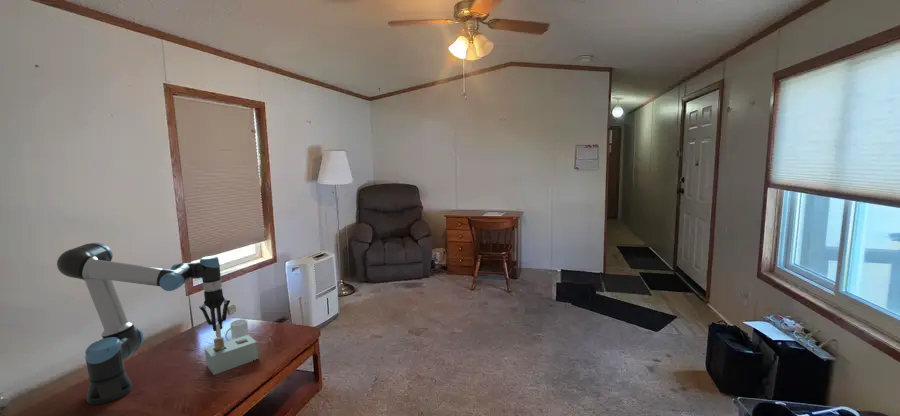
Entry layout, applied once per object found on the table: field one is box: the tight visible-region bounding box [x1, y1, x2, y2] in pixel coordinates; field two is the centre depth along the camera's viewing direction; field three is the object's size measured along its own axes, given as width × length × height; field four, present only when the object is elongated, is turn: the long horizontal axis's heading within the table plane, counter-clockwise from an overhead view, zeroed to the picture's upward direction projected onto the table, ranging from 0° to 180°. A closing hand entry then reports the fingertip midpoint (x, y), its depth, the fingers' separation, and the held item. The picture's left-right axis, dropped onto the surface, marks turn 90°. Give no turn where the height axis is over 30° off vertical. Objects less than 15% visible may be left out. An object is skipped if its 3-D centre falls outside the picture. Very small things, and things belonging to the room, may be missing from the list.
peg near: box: [213, 336, 225, 352], centre depth 195 cm, size 4×4×8 cm
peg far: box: [237, 339, 246, 345], centre depth 203 cm, size 4×4×8 cm
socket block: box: [204, 334, 259, 375], centre depth 200 cm, size 20×12×9 cm, turn 134°
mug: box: [224, 318, 250, 341], centre depth 218 cm, size 12×8×12 cm
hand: (218, 336), depth 195 cm, fingers closed
